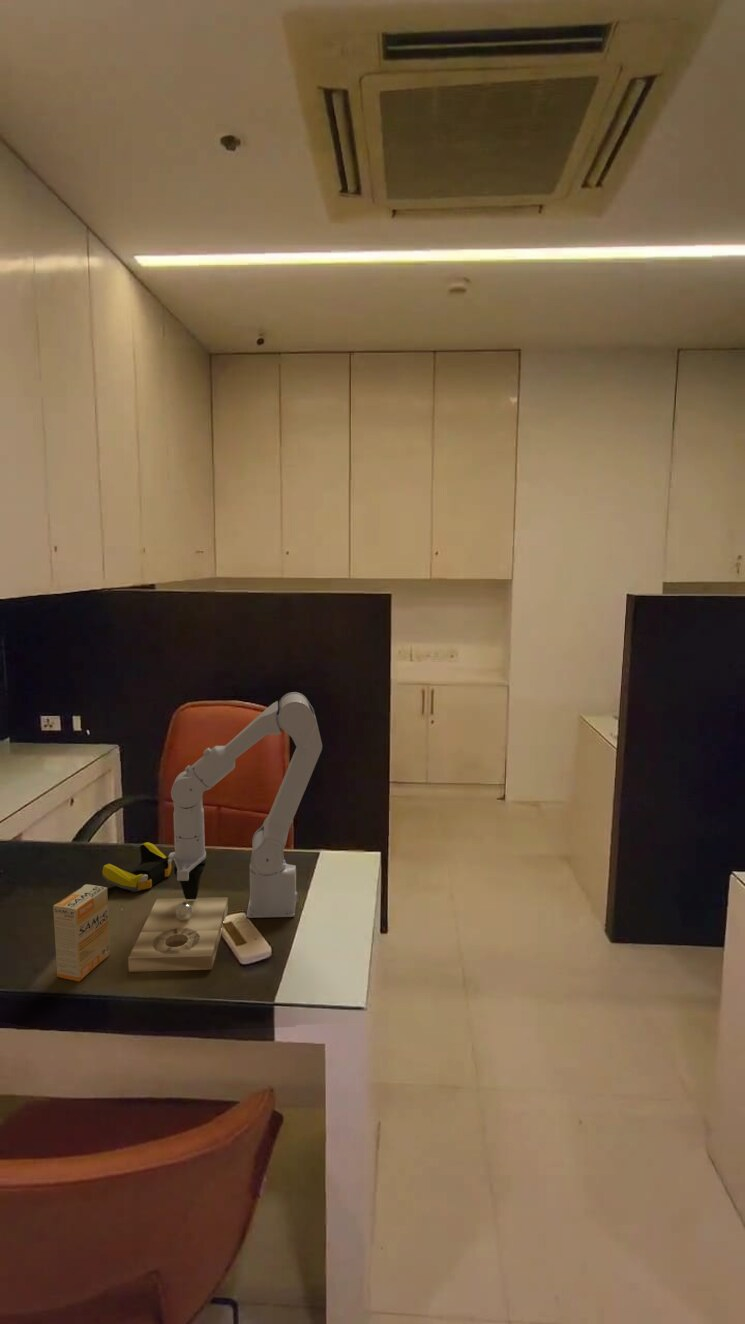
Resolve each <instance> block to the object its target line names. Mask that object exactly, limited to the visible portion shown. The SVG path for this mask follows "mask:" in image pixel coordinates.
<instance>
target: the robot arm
mask: <svg viewBox="0 0 745 1324" xmlns="http://www.w3.org/2000/svg"><path fill="white" fill-rule="evenodd" d="M278 701H279V702H278ZM315 713H316V712H315V709H314V708H313V706H312V705H311V703H310V701H309V700H308V698H307V697H306V696H305V695H304V694H303V693H300V692H297V691H294V692H293V691H292V692H288V693H286V694H284V695H283V696H282V697H281V698H280V699H279V700H276V701H275V702H272V703H271V704H270V705H269V706H267V708H265V710H263V711H262V712H261V713H260V714H259V715H257V716H256V717H255V718H253V720H252V721H251V722H250V723H248V724H247V726H245V727H244V728H243V729H242V730H241V731H240V732H239V733H238V734H236V735H235V736H234V737H233V739H231V740H230V741H229V742H227V744H225V745H215V746H213V747H212V748H210V747H207V748H206V749H205V750H203V756H201V757H200V758H199V759H197V761H195V762H194V763H193V764H192V765H187V766H186V767H185V769H184V770H183V771H182V772H180V773H179V774H178V775H177V776H176V778H175V779H174V782H173V784H172V786H171V789H170V797H171V801H173V815H172V816H173V836H174V837H173V838H174V839H173V841H174V851H172V852H170V853H169V854H168V857H169V859H170V860H172V861H174V863H175V865H174V867H173V873H174V875H175V876H176V881H178V882H179V883H180V885H181V888H182V893H183V896H184V898H185V899H196V898H198V894H199V889H200V885H201V884H200V883H201V879H202V878H201V877H202V873H203V871H204V869H205V866H206V863H207V859H206V858H207V850H206V847H205V846H206V845H205V844H206V841H205V840H206V839H205V837H206V836H205V809H204V807H203V796H204V793H205V791H208V790H211V789H212V788H213V787H214V786H216V784H217V783H219V782H220V781H221V780H222V779H224V778H225V777H226V776H227V775H228V774H230V773H231V772H232V771H234V769H235V768H236V759H238V758H239V757H240V756H241V755H242V754H244V753H245V752H246V751H247V750H250V748H252V747H253V746H254V745H255V744H257V743H258V742H259V741H261V740H262V739H263V738H265V737H266V736H267V735H269V736H270V735H271V736H272V735H273V736H274V735H277V736H278V735H279V736H280V735H282V730H283V731H284V732H285V733H286V734H287V735H288V736H289V737H291V739H292V741H293V743H294V745H295V748H294V749H295V750H294V752H293V754H292V756H291V759H290V762H289V764H288V767H287V769H286V771H285V774H284V777H283V779H282V782H281V783H280V786H279V789H278V790H277V791H278V792H277V794H276V796H275V798H274V801H273V804H272V806H271V808H270V811H269V813H268V815H267V817H266V818H265V819H264V820H263V824H262V825H261V827H259V828H258V829H257V830H256V831H255V832H254V834H253V836H252V839H251V845H252V850H251V855H250V863H249V900H248V904H247V910H246V915H245V916H247V917H248V918H247V917H246V918H247V919H254V918H256V919H258V918H292V917H295V915H296V903H297V902H298V891H297V866H296V865H294V864H289V863H287V862H286V860H285V857H284V849H285V846H286V845H287V842H288V841H287V840H288V836H289V830H290V828H291V825H292V822H293V820H294V818H295V815H296V814H297V810H298V808H299V806H300V803H301V801H302V799H303V796H304V794H305V791H306V789H307V787H308V784H309V782H310V779H311V778H312V775H313V772H314V770H315V768H316V764H317V763H318V760H319V758H320V755H321V753H322V751H323V743H322V738H321V734H320V730H319V725H318V721H317V717H316V714H315Z"/></svg>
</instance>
